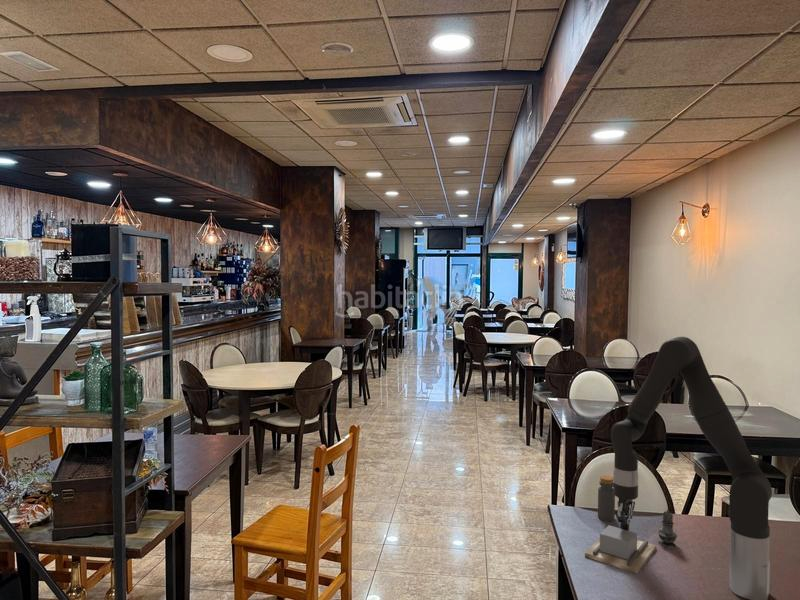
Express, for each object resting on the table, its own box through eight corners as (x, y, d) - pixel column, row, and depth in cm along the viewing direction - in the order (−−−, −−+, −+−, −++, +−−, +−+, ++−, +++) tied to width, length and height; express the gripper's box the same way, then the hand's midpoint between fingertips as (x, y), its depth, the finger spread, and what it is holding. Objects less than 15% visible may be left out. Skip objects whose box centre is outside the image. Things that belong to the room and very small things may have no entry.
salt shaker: (679, 549, 179) (680, 513, 179) (660, 547, 180) (660, 511, 180) (674, 541, 185) (675, 506, 185) (655, 539, 186) (656, 504, 186)
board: (655, 549, 179) (656, 542, 179) (637, 573, 164) (637, 566, 164) (606, 534, 190) (606, 528, 189) (584, 556, 174) (584, 549, 174)
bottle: (600, 512, 208) (601, 473, 207) (616, 517, 204) (617, 477, 203) (595, 517, 203) (596, 477, 203) (611, 522, 199) (612, 481, 199)
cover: (636, 550, 175) (637, 533, 175) (628, 560, 169) (629, 542, 169) (608, 542, 181) (608, 525, 180) (599, 550, 174) (599, 533, 174)
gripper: (631, 490, 171) (630, 544, 172) (644, 478, 181) (643, 530, 182) (606, 484, 176) (606, 537, 177) (620, 473, 186) (620, 524, 187)
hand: (624, 533), depth 179 cm, fingers closed
